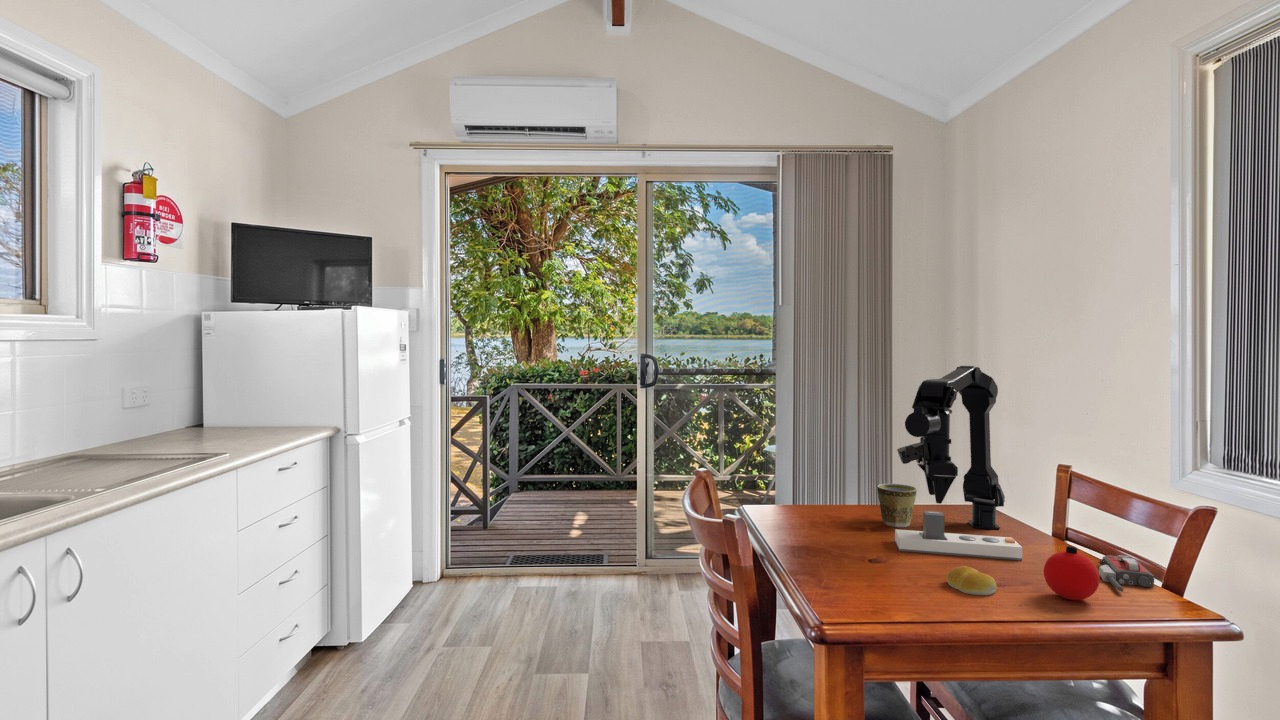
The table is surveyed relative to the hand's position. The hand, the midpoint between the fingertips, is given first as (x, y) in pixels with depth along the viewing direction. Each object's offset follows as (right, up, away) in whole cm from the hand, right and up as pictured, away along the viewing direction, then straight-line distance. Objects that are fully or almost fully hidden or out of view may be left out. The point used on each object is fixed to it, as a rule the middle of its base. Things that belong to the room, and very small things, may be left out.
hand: (935, 498), depth 159 cm
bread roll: (-4, -13, -26) cm, 29 cm away
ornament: (+12, -13, -31) cm, 36 cm away
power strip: (+4, -12, -1) cm, 13 cm away
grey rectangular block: (0, -11, 0) cm, 11 cm away
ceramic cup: (-1, -12, +24) cm, 26 cm away
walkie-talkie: (+30, -13, -21) cm, 39 cm away
